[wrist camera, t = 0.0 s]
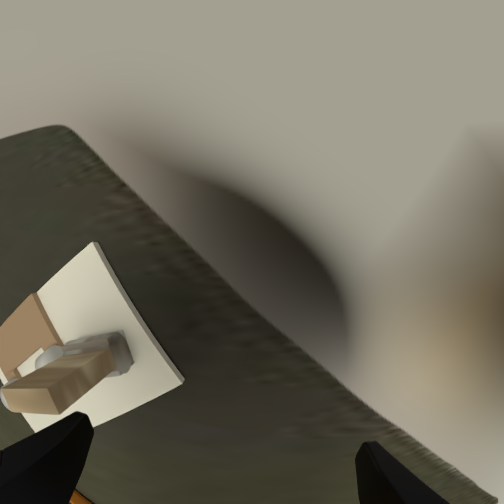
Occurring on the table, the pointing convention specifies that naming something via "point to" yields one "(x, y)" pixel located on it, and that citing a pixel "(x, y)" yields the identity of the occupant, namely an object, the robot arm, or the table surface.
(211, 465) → the table surface
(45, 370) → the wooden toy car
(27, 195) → the table surface
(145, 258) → the table surface
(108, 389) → the board
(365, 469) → the robot arm
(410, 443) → the table surface
